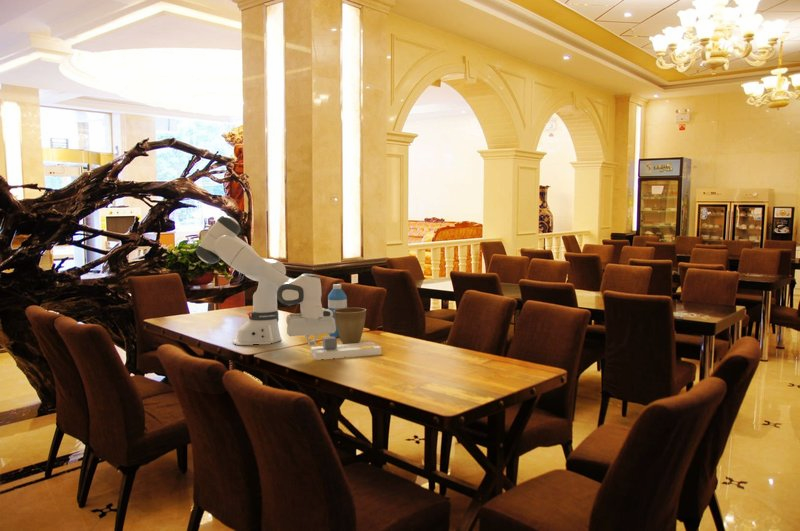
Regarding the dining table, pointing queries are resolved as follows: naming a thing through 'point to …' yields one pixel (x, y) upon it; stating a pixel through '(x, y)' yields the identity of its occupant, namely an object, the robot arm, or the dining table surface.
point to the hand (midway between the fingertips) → (311, 345)
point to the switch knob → (329, 343)
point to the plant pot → (350, 324)
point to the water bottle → (336, 303)
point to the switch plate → (346, 351)
